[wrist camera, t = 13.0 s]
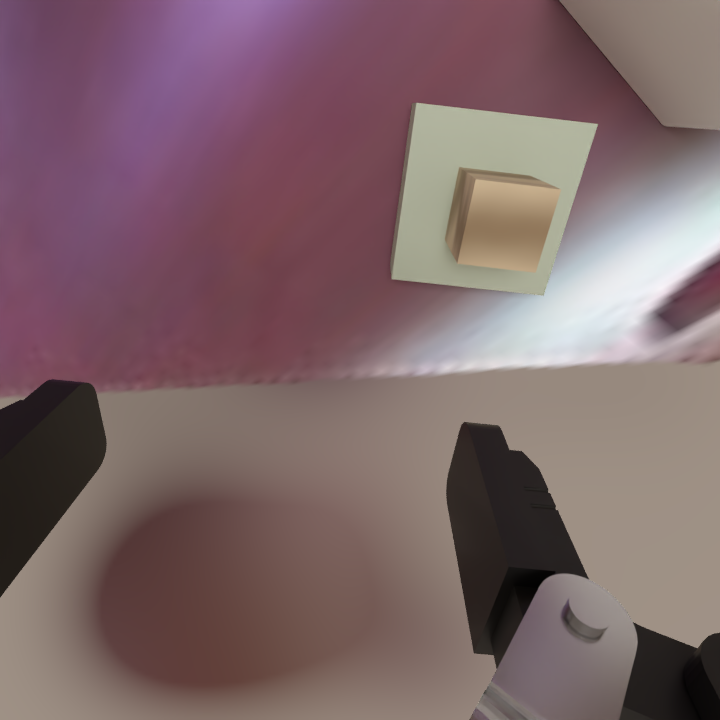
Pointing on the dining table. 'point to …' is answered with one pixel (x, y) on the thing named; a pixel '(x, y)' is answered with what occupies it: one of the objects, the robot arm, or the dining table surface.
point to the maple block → (500, 219)
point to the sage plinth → (484, 152)
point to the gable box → (661, 53)
